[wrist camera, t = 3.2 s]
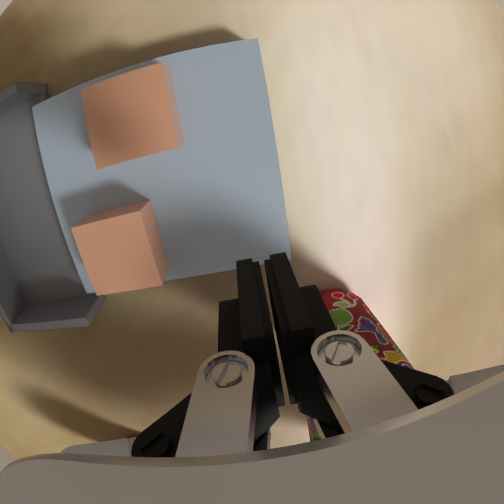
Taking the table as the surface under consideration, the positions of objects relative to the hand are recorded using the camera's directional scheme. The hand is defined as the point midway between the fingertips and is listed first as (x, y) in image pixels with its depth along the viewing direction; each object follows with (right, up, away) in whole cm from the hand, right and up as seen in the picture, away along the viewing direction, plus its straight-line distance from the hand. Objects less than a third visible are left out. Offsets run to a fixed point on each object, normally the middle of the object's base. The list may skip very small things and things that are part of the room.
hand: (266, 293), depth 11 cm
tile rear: (-9, +2, +10) cm, 14 cm away
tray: (-20, +5, +10) cm, 23 cm away
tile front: (-7, +10, +6) cm, 14 cm away
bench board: (-7, +7, +10) cm, 14 cm away
